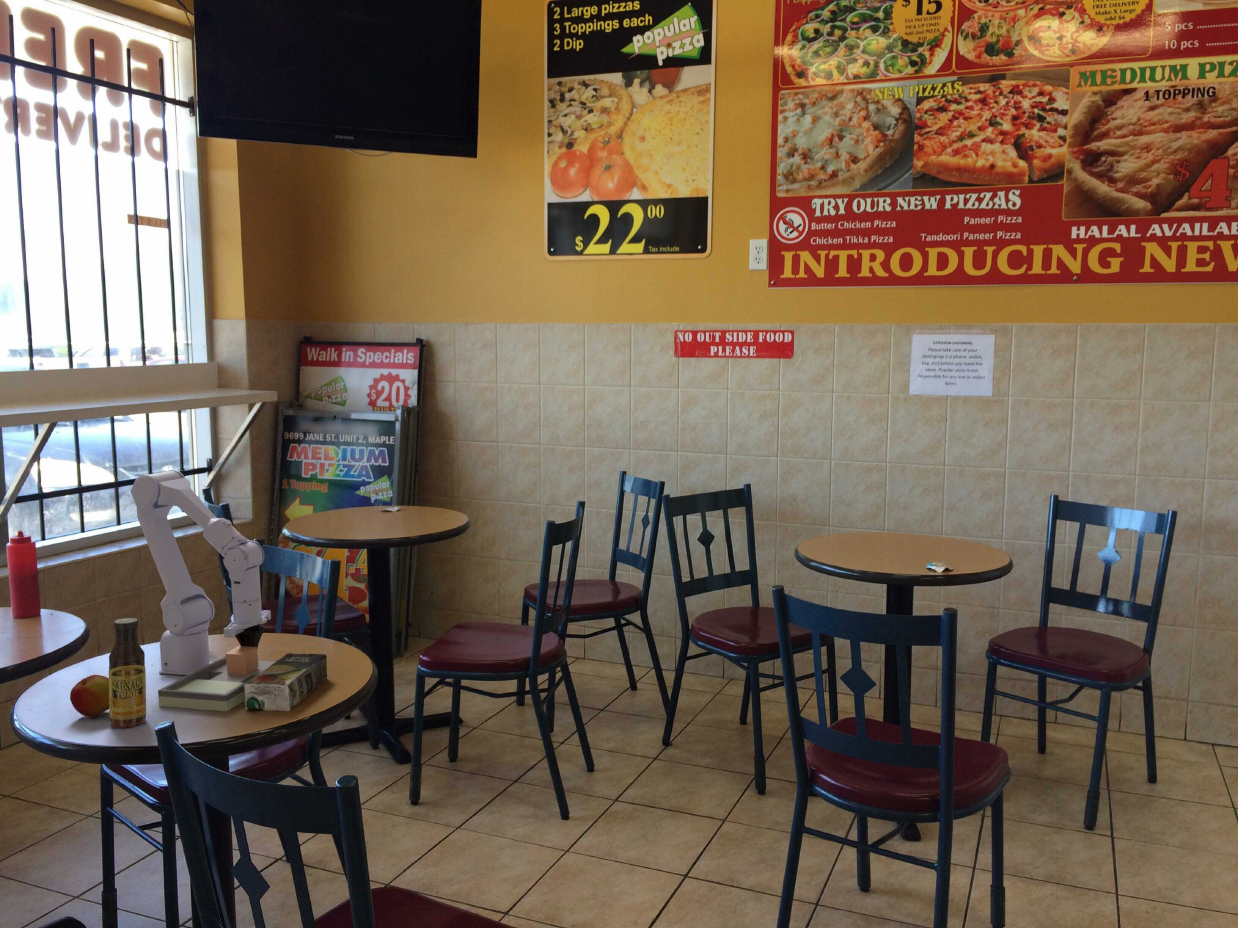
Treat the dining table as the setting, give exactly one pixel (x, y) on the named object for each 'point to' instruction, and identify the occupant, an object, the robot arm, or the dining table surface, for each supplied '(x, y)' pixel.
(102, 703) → the apple
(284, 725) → the dining table surface
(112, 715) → the sauce bottle
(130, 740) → the dining table surface
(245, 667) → the block
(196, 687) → the trap tray
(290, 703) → the juice carton
